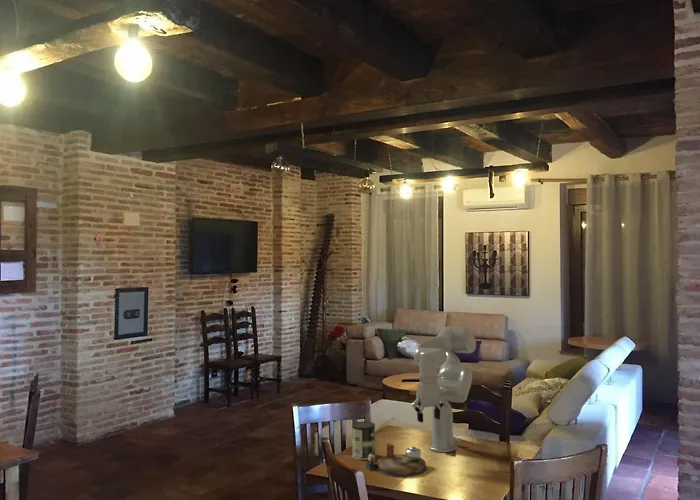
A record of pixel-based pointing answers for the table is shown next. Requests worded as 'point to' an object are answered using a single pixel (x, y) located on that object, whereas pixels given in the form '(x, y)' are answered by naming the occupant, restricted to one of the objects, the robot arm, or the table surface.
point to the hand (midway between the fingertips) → (428, 420)
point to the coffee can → (363, 440)
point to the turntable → (399, 464)
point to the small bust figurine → (371, 463)
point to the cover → (413, 454)
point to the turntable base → (402, 476)
